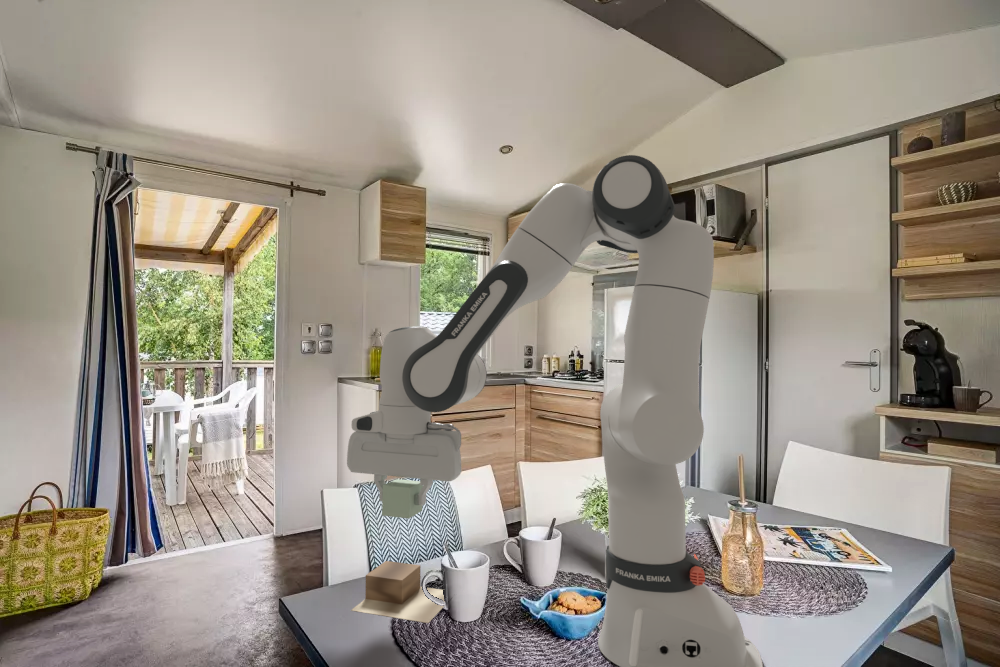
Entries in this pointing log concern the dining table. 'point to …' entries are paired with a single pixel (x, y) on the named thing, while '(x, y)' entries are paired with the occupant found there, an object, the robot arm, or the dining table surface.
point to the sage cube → (400, 498)
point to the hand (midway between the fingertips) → (402, 502)
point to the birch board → (405, 607)
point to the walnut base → (392, 582)
